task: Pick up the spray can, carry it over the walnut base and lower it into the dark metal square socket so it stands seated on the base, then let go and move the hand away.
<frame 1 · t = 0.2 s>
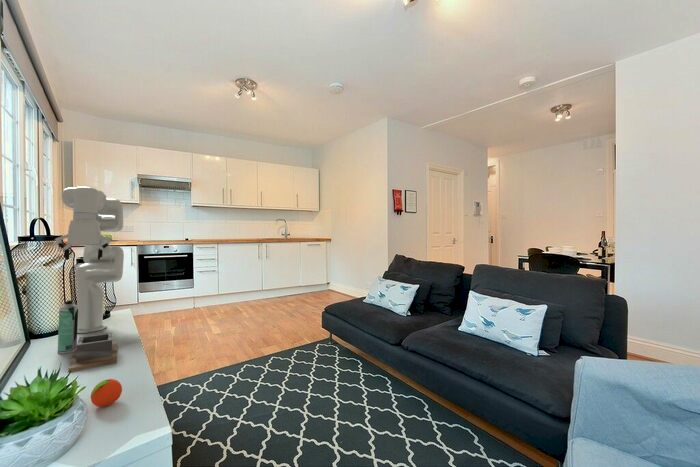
hand: (83, 259, 124), 36 cm above the sideboard top, tool pointing down, fingers open, 9 cm apart
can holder: (95, 357, 115), on the sideboard top
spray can: (67, 351, 119), on the sideboard top
tomato: (104, 406, 84), on the sideboard top
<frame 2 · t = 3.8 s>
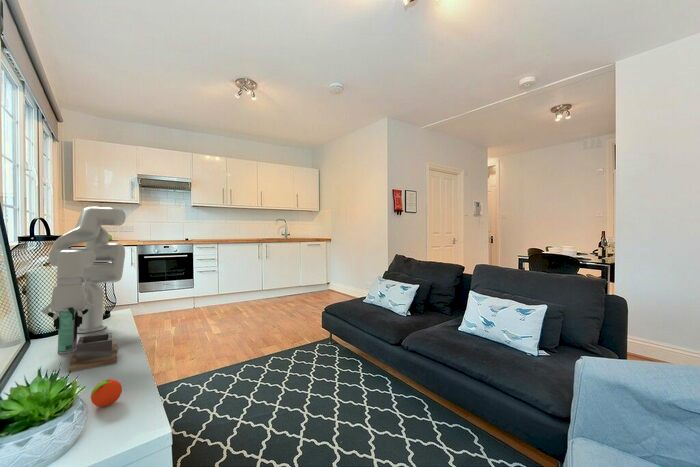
hand: (68, 326, 119), 9 cm above the sideboard top, tool pointing down, fingers closed on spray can, 5 cm apart
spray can: (67, 351, 119), on the sideboard top, touching gripper
everything else where it was.
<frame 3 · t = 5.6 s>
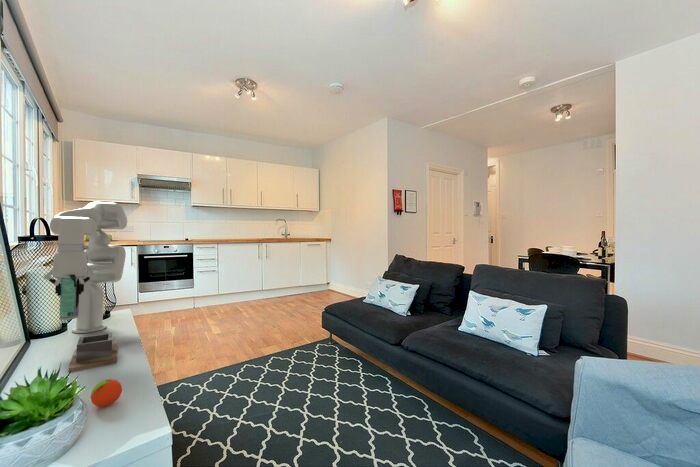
hand: (69, 294, 120), 22 cm above the sideboard top, tool pointing down, fingers closed on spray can, 5 cm apart
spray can: (69, 318, 120), point 13 cm above the sideboard top, touching gripper
everything else where it was.
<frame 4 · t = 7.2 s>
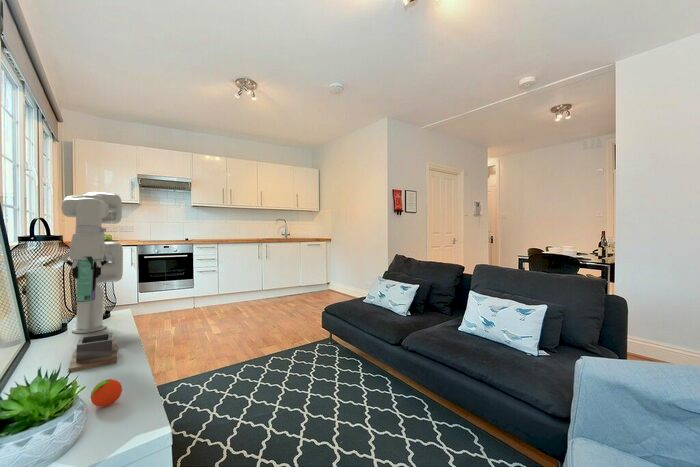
hand: (86, 277, 116), 30 cm above the sideboard top, tool pointing down, fingers closed on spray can, 5 cm apart
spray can: (85, 302, 116), point 20 cm above the sideboard top, touching gripper
everything else where it was.
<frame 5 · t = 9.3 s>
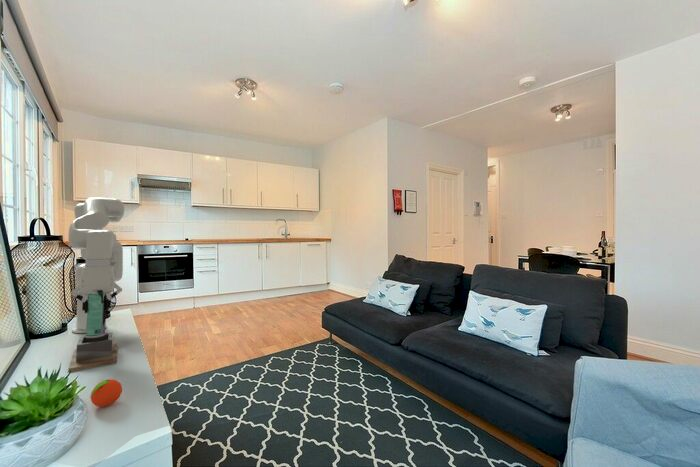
hand: (96, 310, 115), 18 cm above the sideboard top, tool pointing down, fingers closed on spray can, 5 cm apart
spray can: (95, 336, 115), point 8 cm above the sideboard top, touching gripper
everything else where it was.
when the fingers open (11 cm above the sideboard top, at t = 11.0 s): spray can stays where it is, resting on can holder.
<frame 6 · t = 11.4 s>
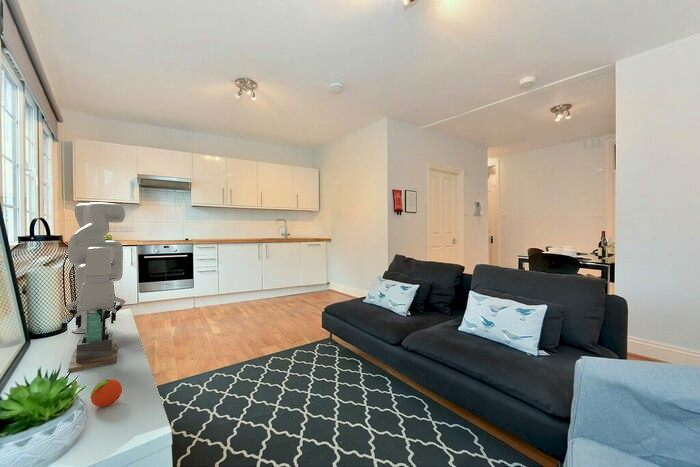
hand: (96, 324, 115), 12 cm above the sideboard top, tool pointing down, fingers open, 9 cm apart
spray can: (94, 354, 115), point 1 cm above the sideboard top, touching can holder
everything else where it was.
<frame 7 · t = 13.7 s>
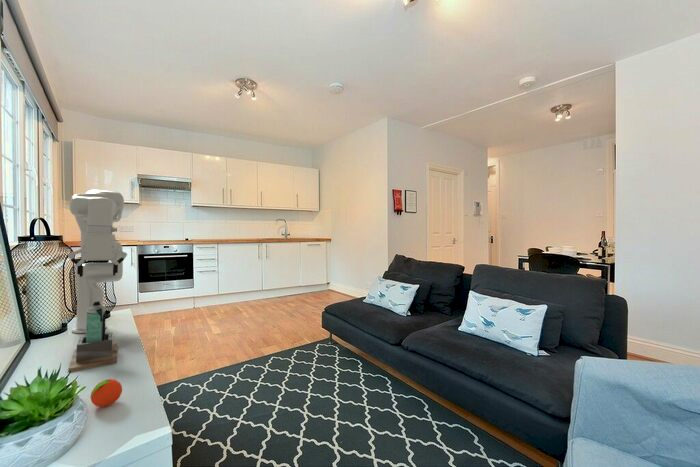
hand: (98, 275, 115), 31 cm above the sideboard top, tool pointing down, fingers open, 9 cm apart
nothing on the sideboard top moved.
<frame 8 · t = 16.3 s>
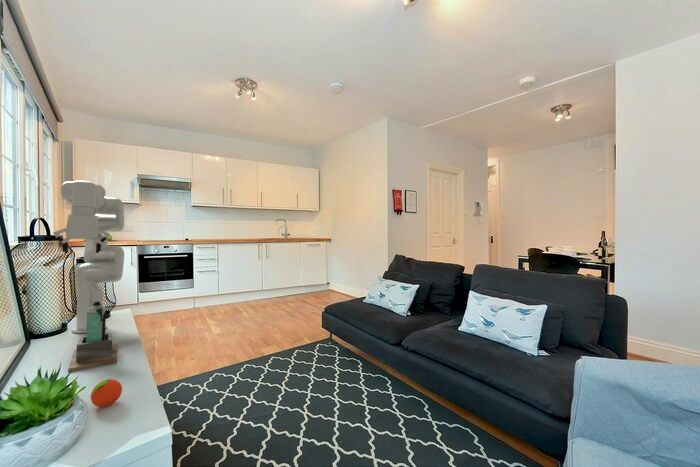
hand: (82, 253, 124), 38 cm above the sideboard top, tool pointing down, fingers open, 9 cm apart
nothing on the sideboard top moved.
at the end: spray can 0.2 cm off-centre on the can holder, point 1.0 cm above the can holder's base; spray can tilted 0°; the gripper is holding nothing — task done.
